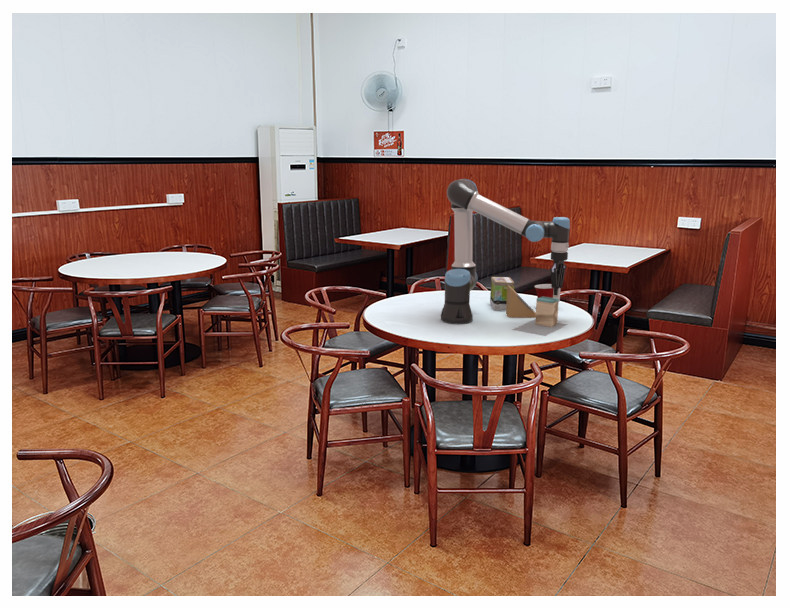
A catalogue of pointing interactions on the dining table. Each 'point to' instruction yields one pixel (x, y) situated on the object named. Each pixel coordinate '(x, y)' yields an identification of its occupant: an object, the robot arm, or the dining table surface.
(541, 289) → the plastic cup
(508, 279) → the tea box
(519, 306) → the sandwich container
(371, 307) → the dining table surface
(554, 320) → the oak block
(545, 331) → the grey mat
